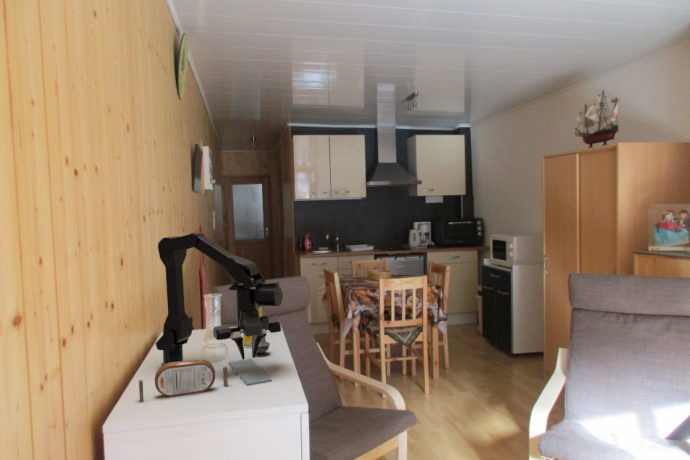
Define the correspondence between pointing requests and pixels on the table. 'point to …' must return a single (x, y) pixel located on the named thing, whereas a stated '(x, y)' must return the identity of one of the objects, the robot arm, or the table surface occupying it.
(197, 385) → the tin
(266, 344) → the salt shaker
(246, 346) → the supplement bottle
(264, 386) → the table surface
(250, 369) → the mat
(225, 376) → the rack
